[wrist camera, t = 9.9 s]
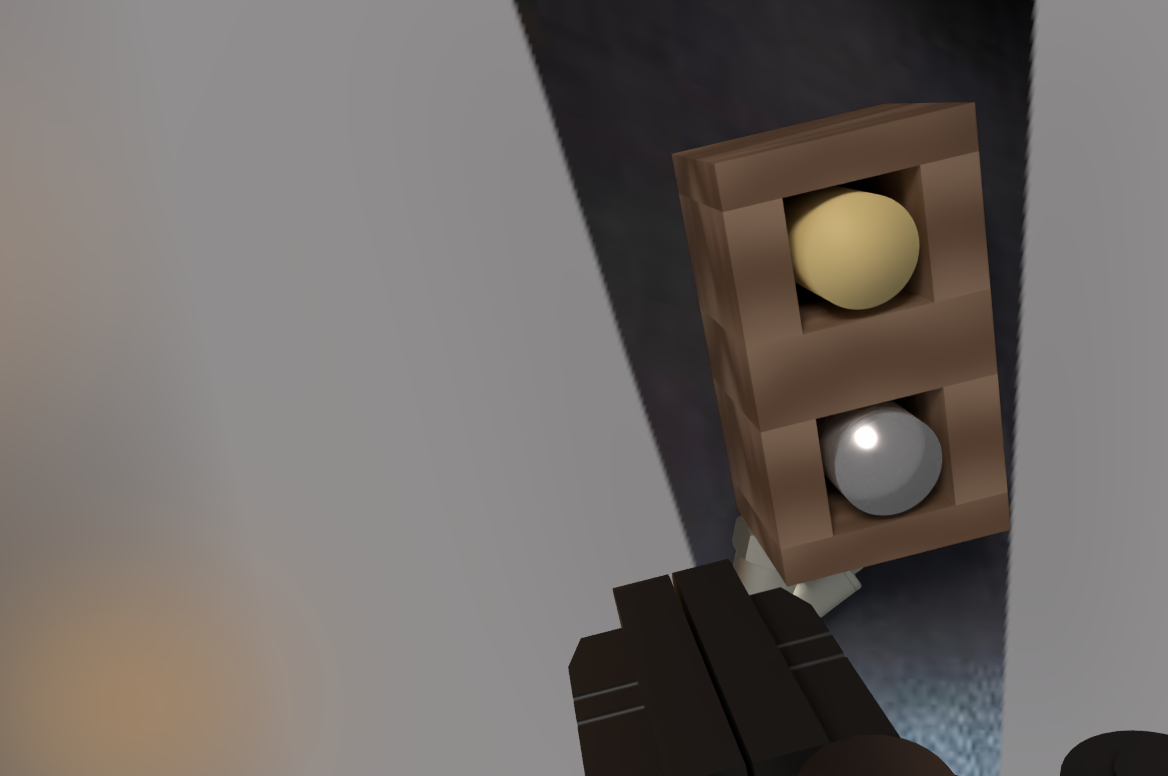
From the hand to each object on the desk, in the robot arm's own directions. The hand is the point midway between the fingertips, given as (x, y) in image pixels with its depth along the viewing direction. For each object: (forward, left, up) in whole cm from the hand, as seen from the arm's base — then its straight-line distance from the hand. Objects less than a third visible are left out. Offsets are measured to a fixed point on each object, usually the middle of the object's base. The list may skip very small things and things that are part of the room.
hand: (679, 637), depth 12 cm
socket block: (+6, +12, -32) cm, 35 cm away
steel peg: (+10, +12, -32) cm, 36 cm away
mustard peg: (+1, +12, -32) cm, 34 cm away
